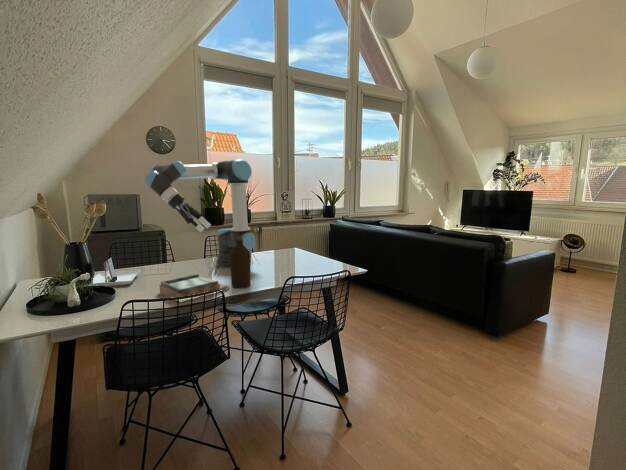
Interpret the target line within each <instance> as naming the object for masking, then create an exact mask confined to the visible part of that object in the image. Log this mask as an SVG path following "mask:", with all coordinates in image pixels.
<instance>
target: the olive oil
mask: <svg viewBox="0 0 626 470" xmlns="http://www.w3.org/2000/svg"><path fill="white" fill-rule="evenodd" d="M229 260H230V267H229V268H230V269H229V271H230V281H231V282H230V284H231V288H234V289H246V288H249V287H250V286H251V271H252V270H251V267H252V266H251V265H252V255H251V250H248V249H247V248H246V247H245V246H244V245H243V237H236V246H235V247H234V248H233V249H232V250H231V252H230V255H229Z"/></svg>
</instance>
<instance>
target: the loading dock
mask: <svg viewBox="0 0 626 470" xmlns="http://www.w3.org/2000/svg"><path fill="white" fill-rule="evenodd" d="M158 286H159V293H160V294H161V295H163V296H165V297H166V298H169V297H182V296H188V295H193V294H198V293H203V292H207V291H212V290H222V292H226V291H229V290H230V287H229V285H228V284H226V283H222V282H219V281H218V280H214V279H211V278H207V277H202V276H200V275H199V273H195V274H191V275H187V276H186V275H185V276H181V277H176V278H172V279H167V280H162V281H160V284H159V285H158ZM218 293H220V292H218ZM218 293H217V294H218Z"/></svg>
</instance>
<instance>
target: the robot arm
mask: <svg viewBox="0 0 626 470" xmlns="http://www.w3.org/2000/svg"><path fill="white" fill-rule="evenodd" d="M252 172H253V171H252V167H251V165H250V164H249V163H248V161H246V160H244V159H229V160H228V159H227V160H222V161H216V162H215V161H214V162H210V163H209V164H207V163H206V164H184V163H182V161H179V160H175V161H173V162H172V163H171V164H163V165H159V164H158V165H153V166H152V167H150V171H149V172H148V173H147V174H146V176H144V178H143V180H144V181H143V182H144V183H145V184H146V185H147V186H148V187H149V188H150V189H151V190H152V191H153V192H154V193H156V194H157V195H158V196H159V198H161V200H162V201H164V202H165V203H167V204H168V206H170V207H171V209H173V210H174V209H175V210H176V211H177V212H178V213H179V214H180V216H181V217H182V218H183V220H184V221H185V222H186V223H187V225H190V224H191V226H192V227H194V228H195V229H196V230H197V231H198V232H199V233H202V232H203V231H204V230H205V229H207V230H208V229H209V228H210V227H211V226H212V224H211V223H210V222H209V221H207V219H206V218H205V217H203V214H202V213H200V211H198V210H196V208H194V207H193V206H191V205H190V204H189V203H188V202H184V201H185V197H184V196H183V195H182V194H181V193H180V192H179V191H178V190H177V189H176V188H175V187H174V186H173V183H175V182H176V181H178V180H185V179H206V178H209V179H211V180H224V181H227V184H228V185H229V186H230V193H231V194H230V195H231V212H232V214H231V215H232V228H223V229H222V228H221V229H219V230H217V246H218V247H217V248H218V250H217V251H218V253H217V258H216V261H215V266H216V267H220V268H230V260H229V255H230V252H231V250H232V249H233V248H234V247H235V246H236V237H243V245H244V246H245V247H246V248H247V249H248V250H249V251H251V250H252V249H253V248H254V246H255V243H256V238H255V235H254V234H253V233H252V232H251V231H252V229H251V227H250V226H249V224H248V207H247V206H248V205H247V188H246V186H247V185H248V184H249V179H250V178H251V177H252ZM193 217H194V218H193ZM196 219H197V220H196Z"/></svg>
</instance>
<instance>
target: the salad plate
mask: <svg viewBox="0 0 626 470" xmlns="http://www.w3.org/2000/svg"><path fill="white" fill-rule="evenodd" d="M113 272H114V273H115V275H116V276H117V280H116V281H115V282H105V273H106V272H99V273H97V274H96V275H95V276H93V277H94V278H93V277H92V278H93V284H92V285H94V286H96V285H99V286H105V287H115V286H126V285H130V284H131V283H132V282H133V281H134V279H135V278H136V277H137V276H138V275H139V274H140V272H141V270H140V269H137V270H136V269H135V270H121V271H113Z"/></svg>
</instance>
